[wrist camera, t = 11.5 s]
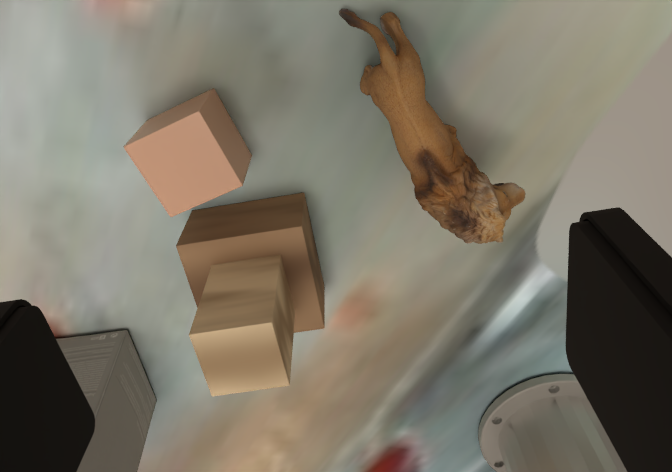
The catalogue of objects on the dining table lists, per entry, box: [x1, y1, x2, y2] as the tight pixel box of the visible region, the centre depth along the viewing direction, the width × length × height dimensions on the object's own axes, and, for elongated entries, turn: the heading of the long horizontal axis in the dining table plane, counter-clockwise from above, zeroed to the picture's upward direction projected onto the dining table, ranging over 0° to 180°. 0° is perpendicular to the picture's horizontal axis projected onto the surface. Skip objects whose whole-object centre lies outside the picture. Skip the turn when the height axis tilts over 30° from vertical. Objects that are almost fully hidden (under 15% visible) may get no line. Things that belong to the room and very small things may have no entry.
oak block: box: [189, 255, 295, 396], centre depth 35 cm, size 4×4×7 cm
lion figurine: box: [339, 9, 525, 244], centre depth 33 cm, size 15×5×9 cm, turn 39°
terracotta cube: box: [124, 88, 252, 217], centre depth 36 cm, size 5×5×5 cm
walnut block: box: [176, 193, 324, 333], centre depth 40 cm, size 8×8×5 cm
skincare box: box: [56, 330, 157, 472], centre depth 41 cm, size 8×7×16 cm
